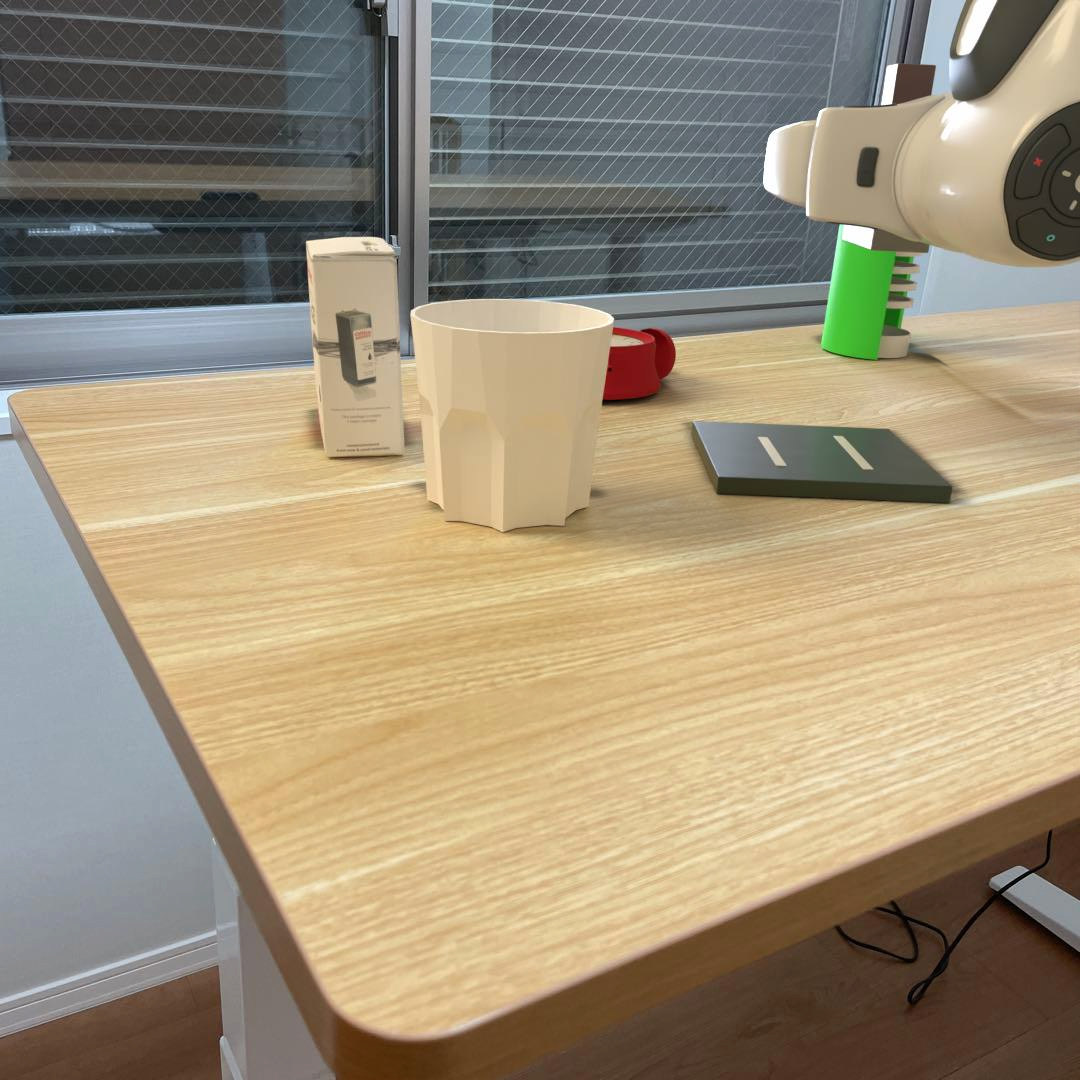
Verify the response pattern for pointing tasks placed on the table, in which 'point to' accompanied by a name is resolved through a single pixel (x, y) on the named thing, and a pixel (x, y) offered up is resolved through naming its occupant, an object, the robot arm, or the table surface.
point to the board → (815, 462)
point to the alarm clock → (637, 362)
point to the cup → (510, 407)
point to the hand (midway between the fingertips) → (891, 165)
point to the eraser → (898, 89)
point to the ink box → (356, 345)
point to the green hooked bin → (868, 302)
